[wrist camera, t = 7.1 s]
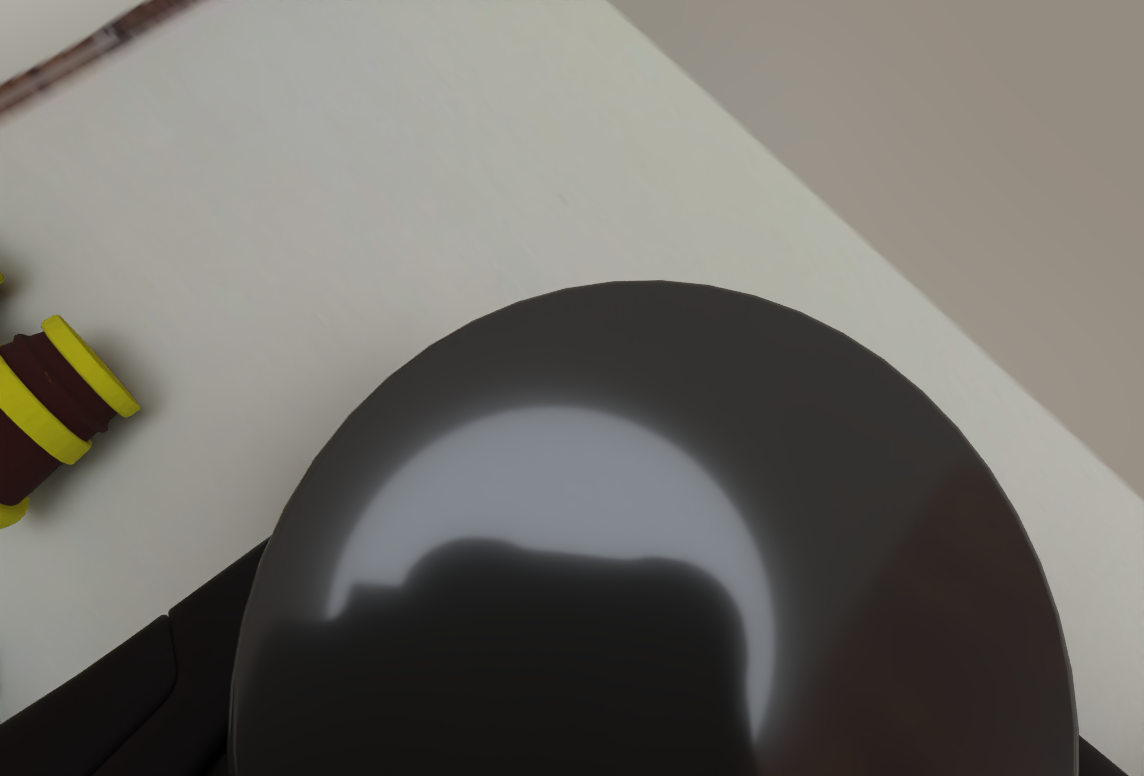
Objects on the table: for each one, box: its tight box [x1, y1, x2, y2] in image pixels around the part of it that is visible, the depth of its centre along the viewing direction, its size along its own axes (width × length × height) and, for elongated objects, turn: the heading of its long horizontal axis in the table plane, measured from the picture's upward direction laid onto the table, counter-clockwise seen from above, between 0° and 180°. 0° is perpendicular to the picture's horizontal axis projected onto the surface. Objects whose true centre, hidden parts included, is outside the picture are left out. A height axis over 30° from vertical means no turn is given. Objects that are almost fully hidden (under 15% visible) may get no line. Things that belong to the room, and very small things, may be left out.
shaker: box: [227, 280, 1079, 776], centre depth 8 cm, size 5×5×8 cm
